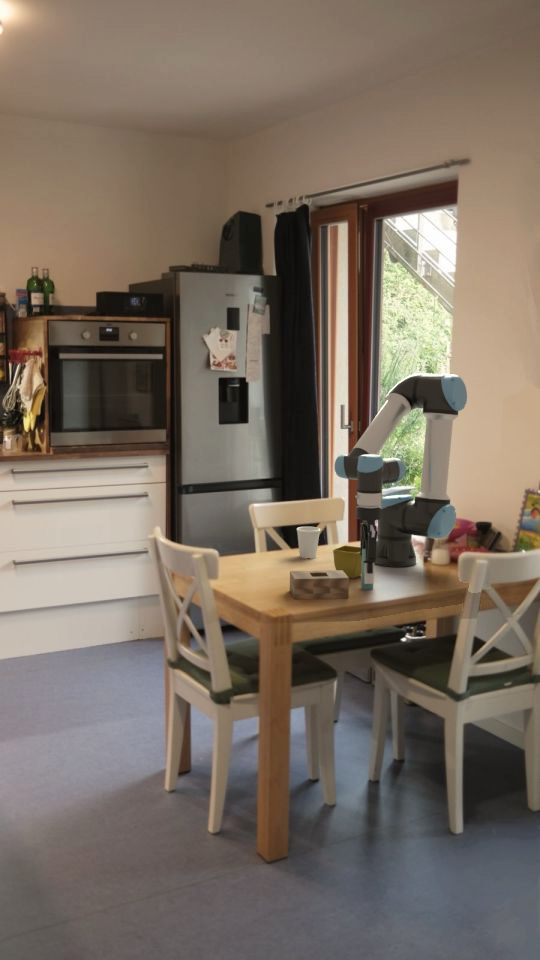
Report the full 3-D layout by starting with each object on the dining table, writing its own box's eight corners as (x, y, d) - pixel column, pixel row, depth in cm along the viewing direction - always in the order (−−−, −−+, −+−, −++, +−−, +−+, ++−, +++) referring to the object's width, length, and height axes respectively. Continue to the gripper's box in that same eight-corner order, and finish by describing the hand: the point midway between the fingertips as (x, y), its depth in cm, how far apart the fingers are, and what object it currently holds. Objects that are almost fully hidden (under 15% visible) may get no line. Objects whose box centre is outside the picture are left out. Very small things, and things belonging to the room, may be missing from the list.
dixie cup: (316, 560, 337) (316, 531, 336) (293, 558, 340) (293, 529, 338) (322, 555, 345) (323, 527, 344) (299, 553, 347) (300, 525, 346)
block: (342, 589, 296) (342, 570, 296) (348, 598, 286) (348, 578, 286) (289, 590, 294) (290, 571, 294) (294, 599, 285) (294, 578, 284)
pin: (371, 586, 300) (372, 548, 299) (374, 589, 297) (375, 550, 295) (360, 586, 300) (361, 548, 298) (362, 589, 296) (363, 551, 295)
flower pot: (368, 575, 315) (369, 548, 314) (356, 580, 308) (357, 552, 307) (344, 572, 320) (344, 545, 318) (331, 577, 312) (332, 549, 311)
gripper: (351, 501, 302) (349, 575, 306) (362, 510, 286) (360, 588, 289) (375, 501, 303) (373, 575, 307) (387, 510, 287) (385, 588, 290)
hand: (367, 581), depth 298 cm, fingers closed on pin, 3 cm apart
